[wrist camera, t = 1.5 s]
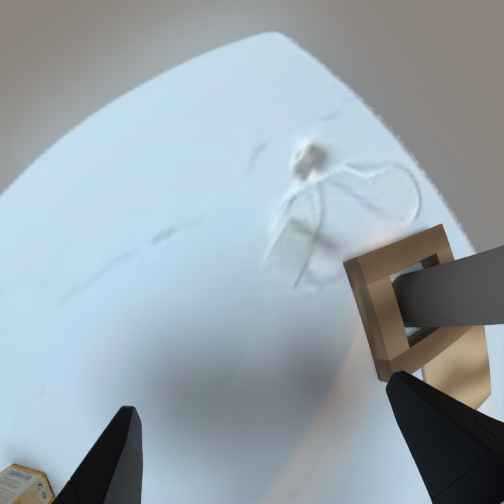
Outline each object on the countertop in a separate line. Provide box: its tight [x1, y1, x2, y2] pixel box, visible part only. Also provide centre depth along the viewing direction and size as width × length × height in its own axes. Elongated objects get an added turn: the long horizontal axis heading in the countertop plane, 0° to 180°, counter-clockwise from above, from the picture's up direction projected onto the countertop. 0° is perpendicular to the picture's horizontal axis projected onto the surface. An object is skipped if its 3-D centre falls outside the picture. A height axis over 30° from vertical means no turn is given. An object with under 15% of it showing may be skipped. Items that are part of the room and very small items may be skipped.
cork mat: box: [421, 325, 491, 410], centre depth 23 cm, size 11×11×1 cm
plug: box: [392, 245, 504, 327], centre depth 17 cm, size 5×5×14 cm
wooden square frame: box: [343, 224, 471, 383], centre depth 23 cm, size 11×11×2 cm
